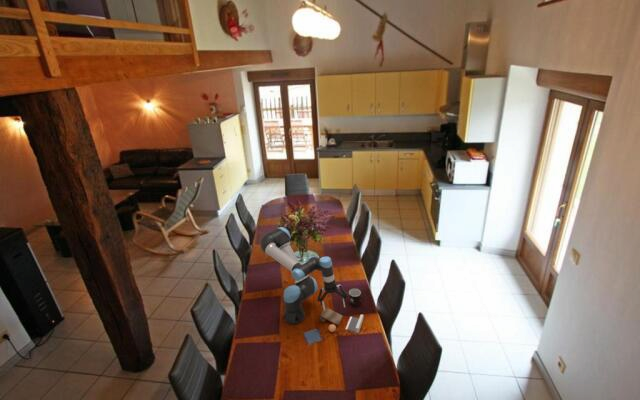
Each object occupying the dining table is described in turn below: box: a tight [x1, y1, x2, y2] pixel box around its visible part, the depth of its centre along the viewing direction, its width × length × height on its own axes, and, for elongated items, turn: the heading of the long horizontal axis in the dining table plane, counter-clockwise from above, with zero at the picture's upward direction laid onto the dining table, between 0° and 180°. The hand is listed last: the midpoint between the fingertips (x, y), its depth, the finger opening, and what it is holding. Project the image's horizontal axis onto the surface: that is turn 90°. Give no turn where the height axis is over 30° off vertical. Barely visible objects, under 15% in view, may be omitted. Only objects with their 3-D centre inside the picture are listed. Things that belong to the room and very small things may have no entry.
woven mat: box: [302, 328, 323, 346], centre depth 219 cm, size 10×11×2 cm
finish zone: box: [345, 314, 364, 334], centre depth 226 cm, size 9×13×4 cm
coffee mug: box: [348, 288, 365, 307], centre depth 243 cm, size 12×9×10 cm
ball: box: [328, 323, 337, 333], centre depth 222 cm, size 5×5×5 cm
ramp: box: [319, 306, 344, 326], centre depth 232 cm, size 13×9×6 cm
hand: (334, 307), depth 222 cm, fingers open, 13 cm apart
